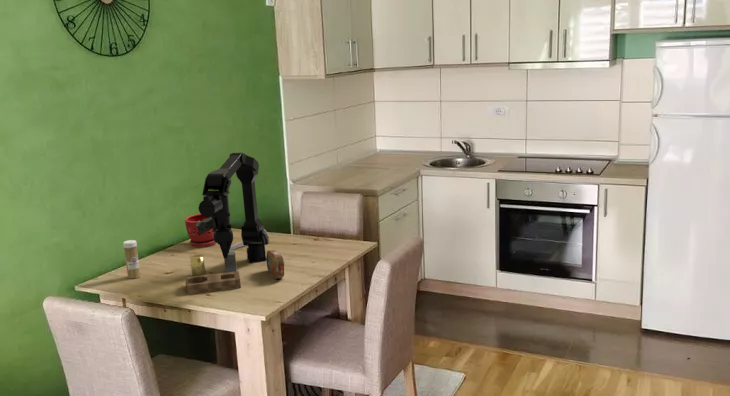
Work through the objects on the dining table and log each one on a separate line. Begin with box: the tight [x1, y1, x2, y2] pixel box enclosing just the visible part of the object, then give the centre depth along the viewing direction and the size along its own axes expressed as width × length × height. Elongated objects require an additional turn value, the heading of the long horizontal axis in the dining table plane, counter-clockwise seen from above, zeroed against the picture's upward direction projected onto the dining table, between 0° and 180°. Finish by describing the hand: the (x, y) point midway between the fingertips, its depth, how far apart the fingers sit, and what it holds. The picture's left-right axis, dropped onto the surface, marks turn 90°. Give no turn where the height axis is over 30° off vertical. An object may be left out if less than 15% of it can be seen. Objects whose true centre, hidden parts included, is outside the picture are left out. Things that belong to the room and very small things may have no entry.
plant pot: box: [184, 213, 217, 248], centre depth 284 cm, size 13×13×12 cm
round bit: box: [189, 254, 207, 277], centre depth 245 cm, size 5×5×7 cm
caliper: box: [229, 229, 269, 252], centre depth 279 cm, size 20×1×6 cm, turn 129°
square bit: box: [223, 250, 238, 273], centre depth 248 cm, size 4×4×7 cm
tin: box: [266, 249, 285, 280], centre depth 241 cm, size 15×3×8 cm, turn 23°
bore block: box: [185, 270, 242, 295], centre depth 233 cm, size 18×9×3 cm, turn 103°
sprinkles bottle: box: [122, 239, 141, 279], centre depth 246 cm, size 5×5×14 cm
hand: (224, 254), depth 232 cm, fingers open, 9 cm apart
